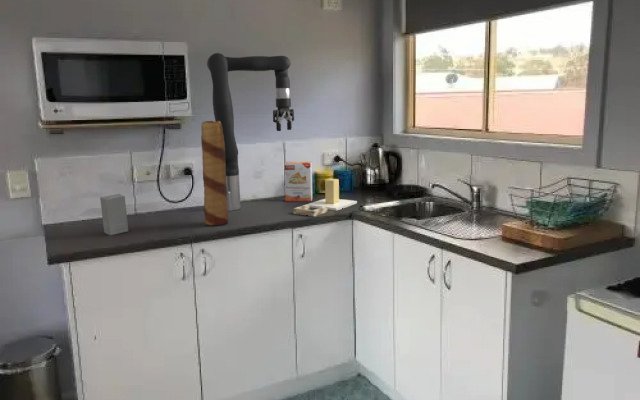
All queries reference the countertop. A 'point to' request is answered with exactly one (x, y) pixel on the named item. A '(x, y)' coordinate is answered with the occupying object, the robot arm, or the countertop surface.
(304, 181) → the cracker box
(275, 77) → the robot arm
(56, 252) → the countertop surface
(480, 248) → the countertop surface
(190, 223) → the countertop surface
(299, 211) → the pocket
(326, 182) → the block
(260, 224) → the countertop surface
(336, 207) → the chopping board
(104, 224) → the skincare box
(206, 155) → the wafer roll
